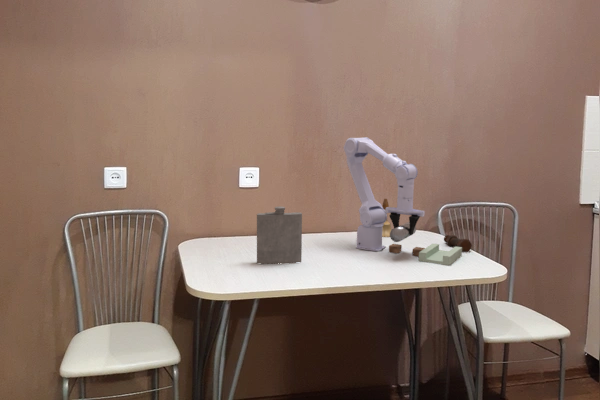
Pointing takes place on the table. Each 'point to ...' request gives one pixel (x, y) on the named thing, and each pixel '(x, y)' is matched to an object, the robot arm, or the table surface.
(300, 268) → the table surface
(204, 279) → the table surface
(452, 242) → the bolt
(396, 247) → the bearing block
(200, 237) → the table surface
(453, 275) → the table surface
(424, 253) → the pale green channelled slab
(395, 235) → the axle
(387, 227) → the hand bell
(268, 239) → the hip flask
